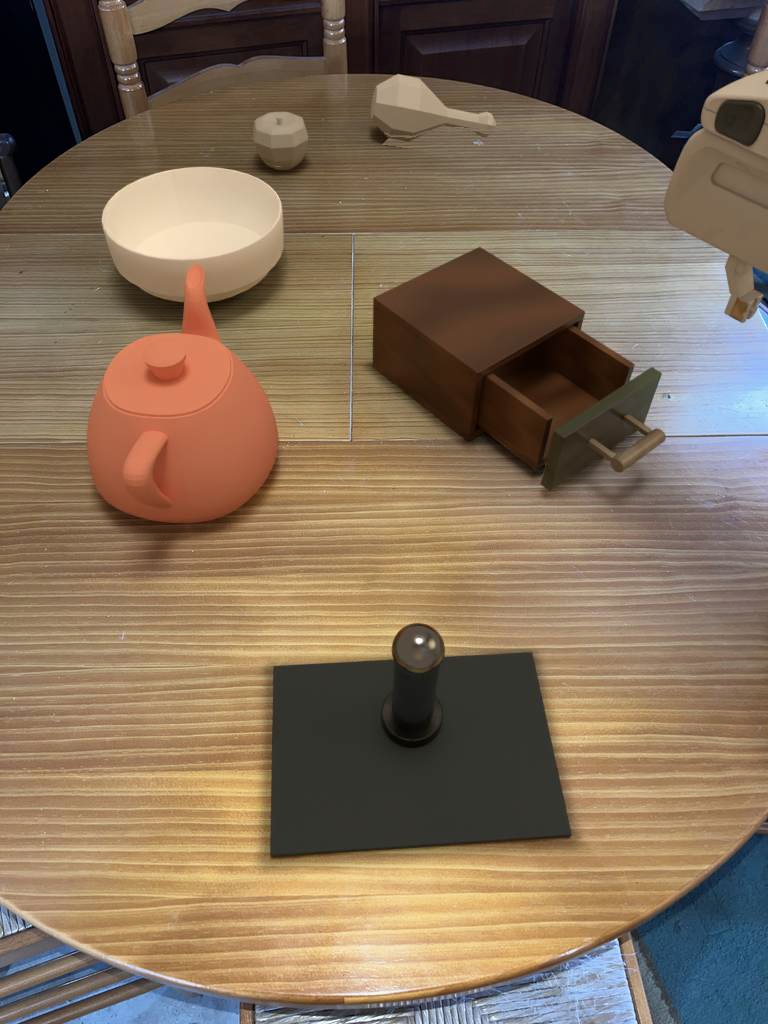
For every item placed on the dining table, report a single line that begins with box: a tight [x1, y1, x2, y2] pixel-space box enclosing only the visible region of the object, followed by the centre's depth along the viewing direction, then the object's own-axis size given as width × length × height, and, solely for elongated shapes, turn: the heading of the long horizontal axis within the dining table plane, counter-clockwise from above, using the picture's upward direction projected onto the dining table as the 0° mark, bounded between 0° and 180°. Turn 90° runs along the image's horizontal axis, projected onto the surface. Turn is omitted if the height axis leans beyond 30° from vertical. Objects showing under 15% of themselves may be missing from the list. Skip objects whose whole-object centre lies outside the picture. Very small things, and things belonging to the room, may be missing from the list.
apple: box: [252, 111, 309, 171], centre depth 112 cm, size 8×8×7 cm
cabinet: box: [372, 246, 586, 443], centre depth 82 cm, size 15×15×9 cm
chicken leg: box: [370, 73, 497, 143], centre depth 118 cm, size 8×18×8 cm, turn 94°
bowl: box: [101, 166, 284, 304], centre depth 93 cm, size 20×20×8 cm
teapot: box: [86, 264, 279, 524], centre depth 72 cm, size 25×17×13 cm
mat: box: [269, 651, 573, 859], centre depth 58 cm, size 20×14×1 cm
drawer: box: [476, 325, 667, 492], centre depth 76 cm, size 18×13×7 cm
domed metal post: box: [381, 622, 446, 748], centre depth 55 cm, size 4×4×12 cm
